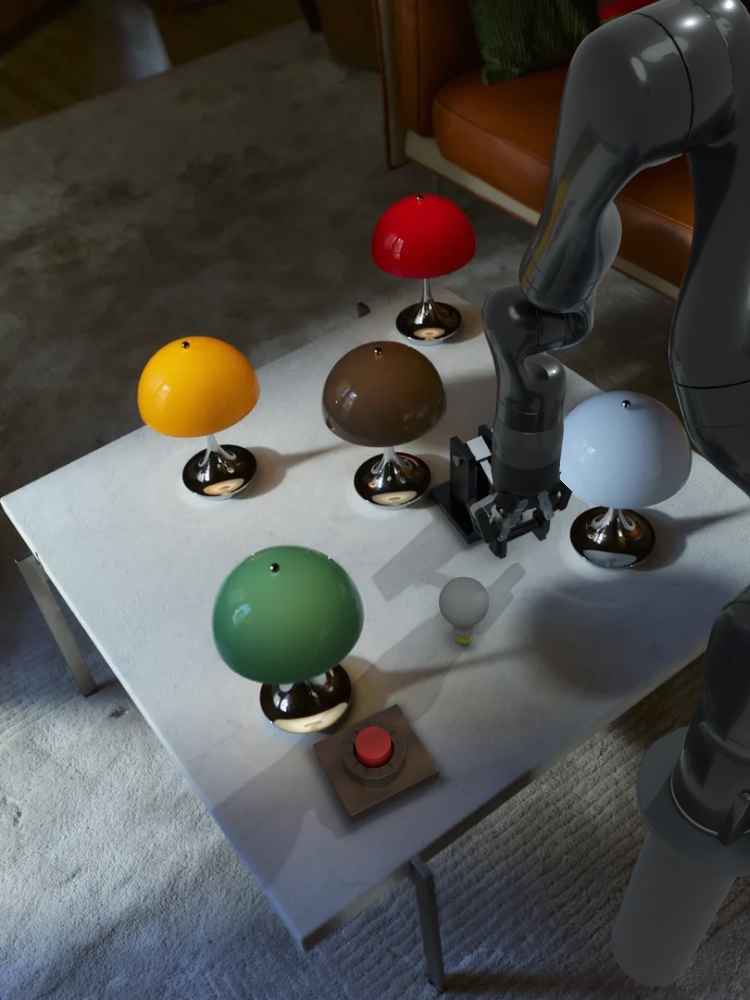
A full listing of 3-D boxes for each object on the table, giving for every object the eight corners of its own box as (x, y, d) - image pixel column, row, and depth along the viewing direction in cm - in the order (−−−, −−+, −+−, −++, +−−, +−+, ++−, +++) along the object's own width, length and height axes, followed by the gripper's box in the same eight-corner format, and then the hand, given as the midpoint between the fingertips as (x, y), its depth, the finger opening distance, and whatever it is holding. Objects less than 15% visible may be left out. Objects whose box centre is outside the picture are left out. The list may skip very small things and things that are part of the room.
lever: (537, 530, 114) (543, 524, 112) (502, 546, 113) (507, 540, 110) (486, 439, 117) (491, 431, 115) (451, 453, 116) (455, 445, 114)
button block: (439, 778, 97) (438, 762, 94) (352, 824, 94) (349, 808, 92) (397, 711, 103) (396, 694, 100) (314, 752, 100) (310, 735, 97)
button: (397, 757, 96) (397, 748, 94) (366, 773, 95) (365, 764, 93) (381, 729, 98) (380, 720, 97) (350, 744, 97) (349, 736, 96)
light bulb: (430, 632, 109) (429, 579, 102) (471, 613, 111) (472, 559, 104) (454, 667, 106) (455, 614, 99) (496, 647, 108) (499, 593, 100)
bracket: (522, 520, 121) (528, 454, 112) (468, 544, 118) (470, 478, 110) (481, 473, 127) (483, 406, 118) (429, 495, 125) (427, 428, 116)
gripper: (488, 488, 98) (484, 589, 110) (602, 439, 102) (586, 542, 114) (451, 445, 102) (451, 547, 115) (562, 400, 106) (550, 503, 119)
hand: (518, 544), depth 114 cm, fingers closed on lever, 5 cm apart
